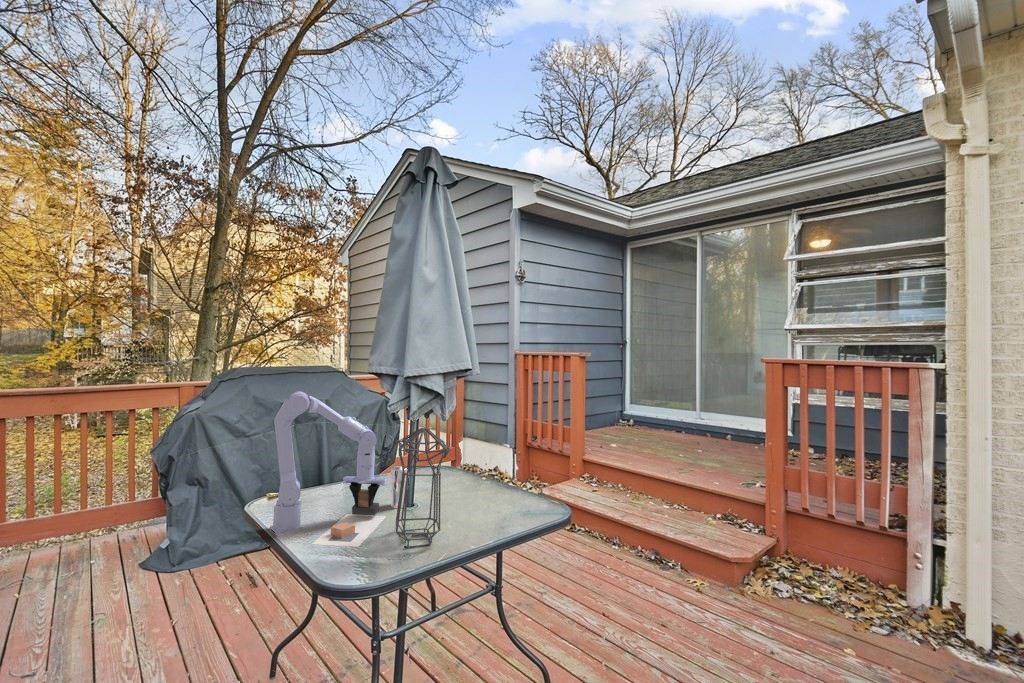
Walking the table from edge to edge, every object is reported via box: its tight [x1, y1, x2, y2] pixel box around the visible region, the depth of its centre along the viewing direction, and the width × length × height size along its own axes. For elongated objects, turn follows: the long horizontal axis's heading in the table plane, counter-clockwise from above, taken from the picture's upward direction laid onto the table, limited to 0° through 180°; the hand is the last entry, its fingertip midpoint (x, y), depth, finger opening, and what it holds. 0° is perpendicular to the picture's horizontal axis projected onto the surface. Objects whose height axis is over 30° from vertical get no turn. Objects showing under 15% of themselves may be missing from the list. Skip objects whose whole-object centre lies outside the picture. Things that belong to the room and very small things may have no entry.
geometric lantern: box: [395, 427, 452, 549], centre depth 143 cm, size 16×16×35 cm
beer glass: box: [389, 465, 407, 509], centre depth 171 cm, size 7×7×15 cm
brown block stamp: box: [351, 488, 380, 516], centre depth 158 cm, size 4×8×8 cm, turn 86°
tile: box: [330, 522, 355, 539], centre depth 142 cm, size 5×5×2 cm
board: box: [311, 513, 387, 548], centre depth 147 cm, size 26×14×1 cm, turn 177°
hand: (363, 505), depth 156 cm, fingers closed on brown block stamp, 4 cm apart
